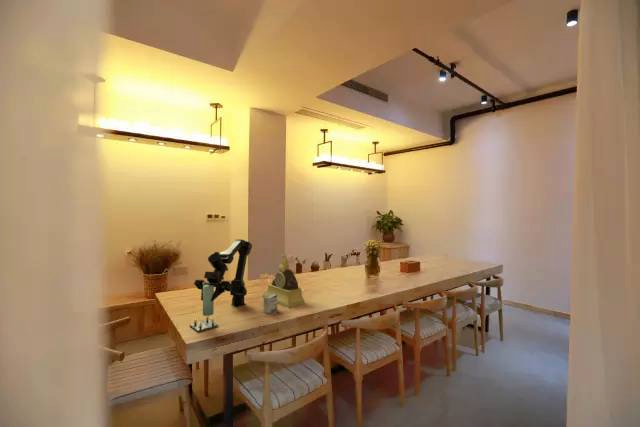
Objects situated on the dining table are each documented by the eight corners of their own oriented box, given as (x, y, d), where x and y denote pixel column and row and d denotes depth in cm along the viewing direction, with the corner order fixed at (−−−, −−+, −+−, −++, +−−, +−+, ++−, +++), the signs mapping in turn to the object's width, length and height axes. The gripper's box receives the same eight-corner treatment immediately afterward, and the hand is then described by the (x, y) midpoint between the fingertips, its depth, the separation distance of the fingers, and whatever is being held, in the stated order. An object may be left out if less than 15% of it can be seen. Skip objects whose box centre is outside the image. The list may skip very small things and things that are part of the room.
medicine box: (270, 313, 157) (270, 298, 157) (263, 312, 159) (263, 297, 159) (277, 309, 165) (277, 294, 165) (270, 308, 166) (270, 293, 166)
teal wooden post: (213, 311, 142) (213, 284, 141) (213, 315, 137) (214, 286, 137) (202, 313, 139) (202, 285, 139) (202, 316, 135) (203, 287, 135)
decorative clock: (262, 297, 187) (263, 252, 187) (278, 293, 196) (278, 251, 196) (288, 308, 167) (288, 258, 167) (304, 303, 176) (305, 256, 176)
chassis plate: (209, 320, 146) (209, 314, 146) (218, 326, 139) (218, 319, 139) (189, 326, 138) (189, 319, 138) (198, 332, 132) (198, 325, 131)
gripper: (196, 263, 143) (182, 291, 133) (229, 265, 140) (218, 293, 130) (204, 275, 151) (192, 302, 141) (237, 277, 148) (226, 305, 137)
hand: (206, 300), depth 137 cm, fingers closed on teal wooden post, 5 cm apart
